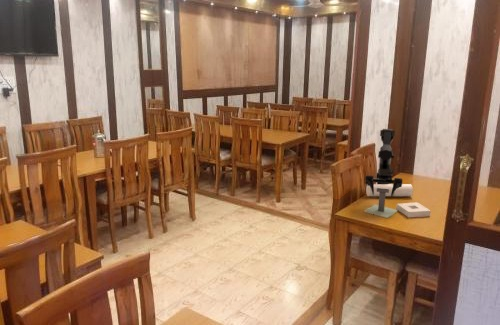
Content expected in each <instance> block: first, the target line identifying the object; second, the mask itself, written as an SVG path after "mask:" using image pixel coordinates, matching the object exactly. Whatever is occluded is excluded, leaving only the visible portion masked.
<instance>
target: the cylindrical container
mask: <svg viewBox="0 0 500 325" xmlns="http://www.w3.org/2000/svg"><path fill="white" fill-rule="evenodd" d="M373 184H374V195H373V193H372V190H371V188H370V186H368V184H366V186H365V188H366V189H365V192H366V196H367V197H379V194H380V192H377V188H381V189H389V193H386V195H385V197H391V193H392V188H393V184H392V183H391V184H377V183H373ZM413 192H414V188H413V185H412V184H411V183H408V184H407V183H406V184H405V183H402V187H399V188H397V189H396V190H395V191H394V193H393V195H392V197H412V196H413Z"/></svg>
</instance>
